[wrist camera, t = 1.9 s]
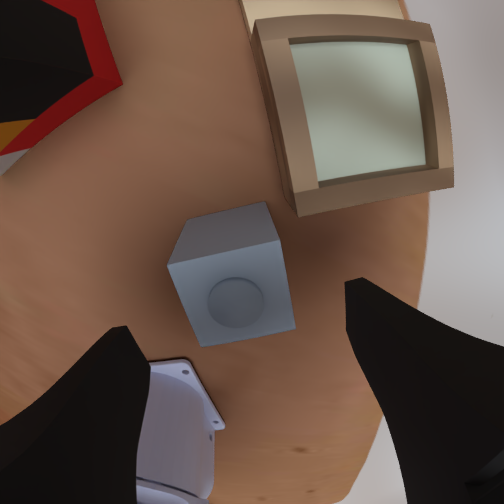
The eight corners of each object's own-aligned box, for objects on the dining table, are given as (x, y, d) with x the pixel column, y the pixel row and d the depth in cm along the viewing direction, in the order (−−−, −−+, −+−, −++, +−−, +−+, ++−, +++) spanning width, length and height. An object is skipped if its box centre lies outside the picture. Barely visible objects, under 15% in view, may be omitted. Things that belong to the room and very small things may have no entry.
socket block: (419, 173, 14) (453, 187, 11) (284, 197, 14) (298, 217, 11) (365, -44, 8) (389, -67, 5) (225, -44, 8) (223, -76, 5)
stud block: (278, 270, 16) (297, 335, 11) (208, 285, 16) (200, 354, 11) (264, 201, 14) (281, 244, 9) (187, 219, 14) (164, 270, 9)
